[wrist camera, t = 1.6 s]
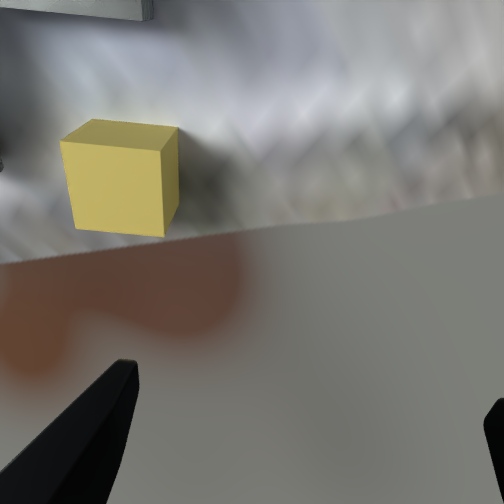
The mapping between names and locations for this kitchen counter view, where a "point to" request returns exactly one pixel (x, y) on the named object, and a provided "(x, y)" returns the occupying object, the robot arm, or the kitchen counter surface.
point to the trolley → (1, 164)
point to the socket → (89, 7)
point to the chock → (122, 176)
